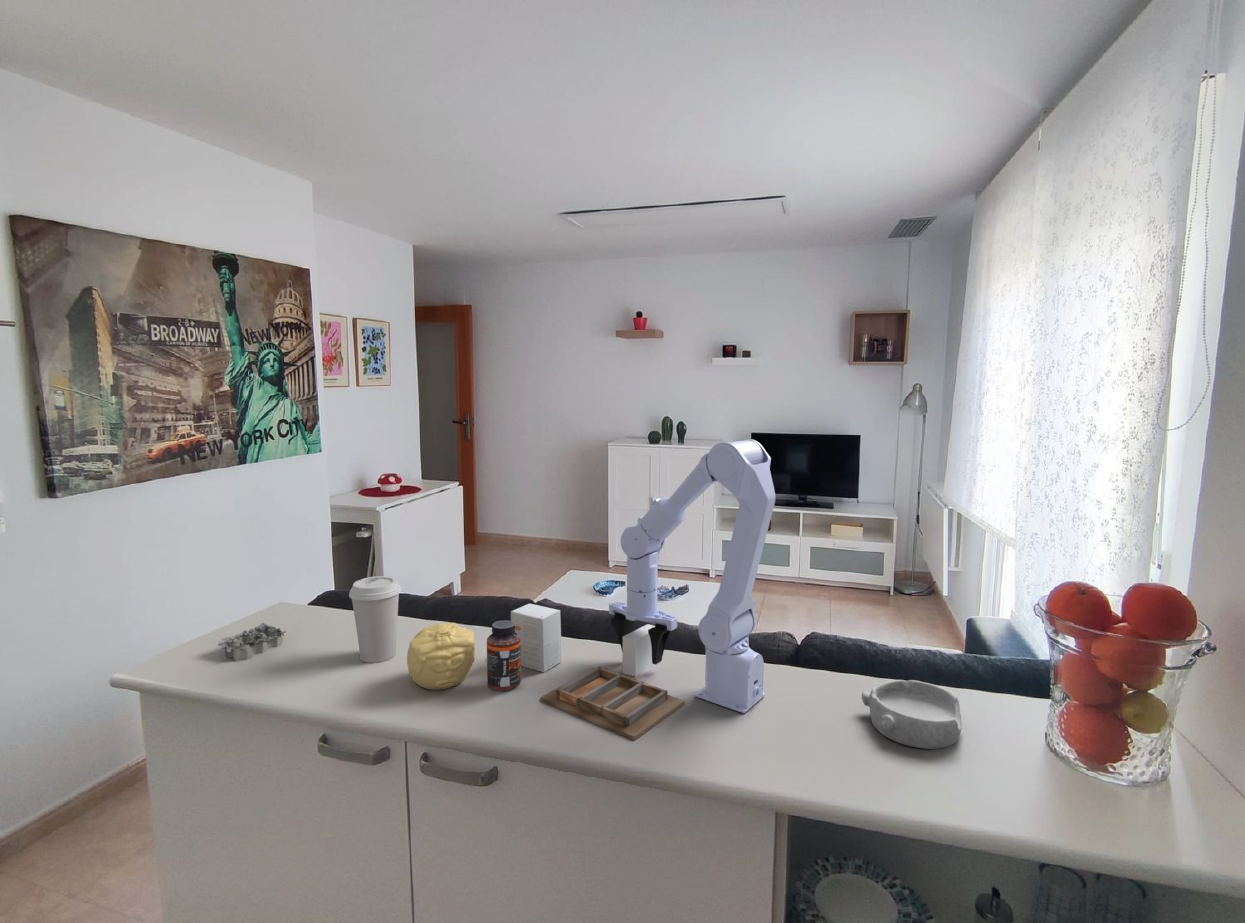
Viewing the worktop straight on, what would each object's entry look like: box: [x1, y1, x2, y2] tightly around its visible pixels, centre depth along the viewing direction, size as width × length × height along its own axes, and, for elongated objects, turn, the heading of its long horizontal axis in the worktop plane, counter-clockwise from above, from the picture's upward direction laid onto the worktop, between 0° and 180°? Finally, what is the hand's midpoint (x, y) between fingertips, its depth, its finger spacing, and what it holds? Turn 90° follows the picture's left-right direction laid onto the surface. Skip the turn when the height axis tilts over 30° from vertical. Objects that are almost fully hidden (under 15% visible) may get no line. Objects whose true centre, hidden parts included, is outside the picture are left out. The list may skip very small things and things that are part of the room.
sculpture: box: [406, 622, 476, 691], centre depth 113 cm, size 12×12×11 cm
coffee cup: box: [348, 575, 402, 664], centre depth 124 cm, size 10×10×15 cm
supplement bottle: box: [486, 620, 522, 692], centre depth 112 cm, size 6×6×11 cm
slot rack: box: [539, 666, 685, 741], centre depth 106 cm, size 20×14×2 cm
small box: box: [510, 603, 563, 673], centre depth 121 cm, size 8×6×10 cm
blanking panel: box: [622, 623, 661, 678], centre depth 120 cm, size 3×8×7 cm, turn 142°
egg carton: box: [217, 622, 287, 662], centre depth 128 cm, size 11×8×4 cm
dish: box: [861, 679, 963, 750], centre depth 99 cm, size 14×14×5 cm
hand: (641, 657), depth 120 cm, fingers open, 6 cm apart
